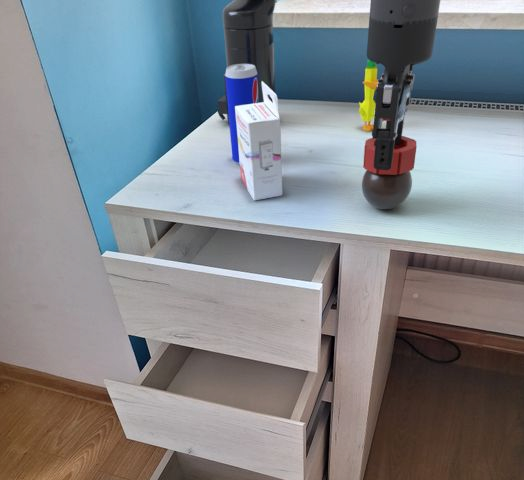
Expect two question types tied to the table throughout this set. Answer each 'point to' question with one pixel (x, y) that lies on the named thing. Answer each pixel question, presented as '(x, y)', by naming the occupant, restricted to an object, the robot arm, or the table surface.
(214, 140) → the table surface
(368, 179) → the ball
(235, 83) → the beverage can
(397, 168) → the ring
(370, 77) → the toy figure
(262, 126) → the ink cartridge box
